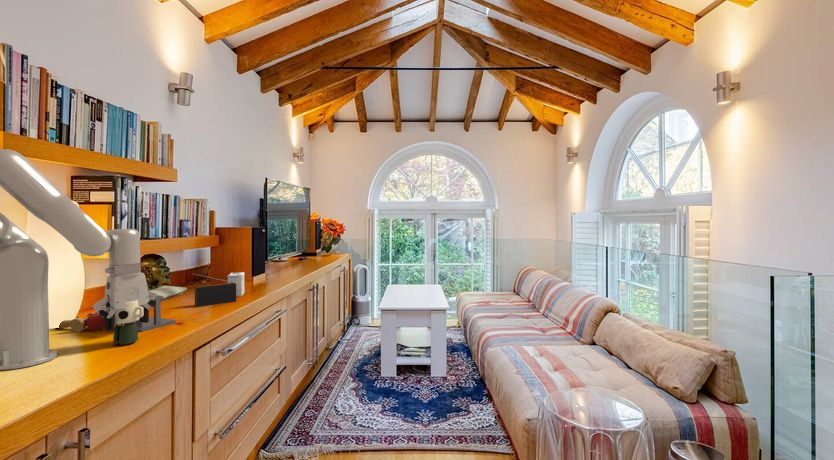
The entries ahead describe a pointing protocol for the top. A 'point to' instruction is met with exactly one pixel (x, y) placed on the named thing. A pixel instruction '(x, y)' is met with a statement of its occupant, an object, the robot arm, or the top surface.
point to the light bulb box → (237, 282)
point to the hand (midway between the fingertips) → (127, 326)
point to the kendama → (84, 323)
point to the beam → (165, 293)
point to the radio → (215, 294)
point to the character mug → (127, 323)
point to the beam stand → (154, 319)
